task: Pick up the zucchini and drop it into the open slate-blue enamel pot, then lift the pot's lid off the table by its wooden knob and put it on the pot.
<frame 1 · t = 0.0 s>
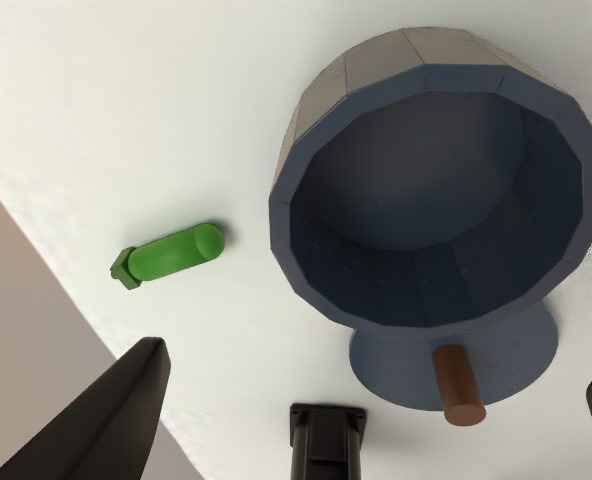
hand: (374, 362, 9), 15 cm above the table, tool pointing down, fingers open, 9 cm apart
pot lid: (447, 349, 29), point 1 cm above the table
pot: (405, 161, 22), on the table
zucchini: (180, 242, 26), on the table
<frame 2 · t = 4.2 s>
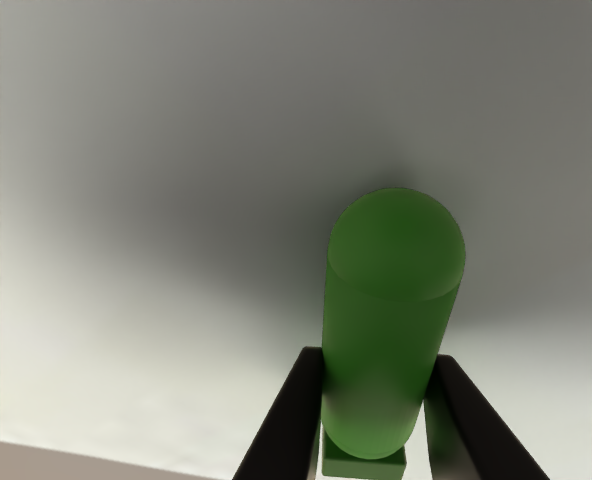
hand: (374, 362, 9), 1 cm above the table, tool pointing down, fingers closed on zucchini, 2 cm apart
zucchini: (373, 302, 9), on the table, touching gripper
when the fingers open (7 cm above the table, at t = 8.9 s): zucchini drops 3 cm and tips over, resting on pot.
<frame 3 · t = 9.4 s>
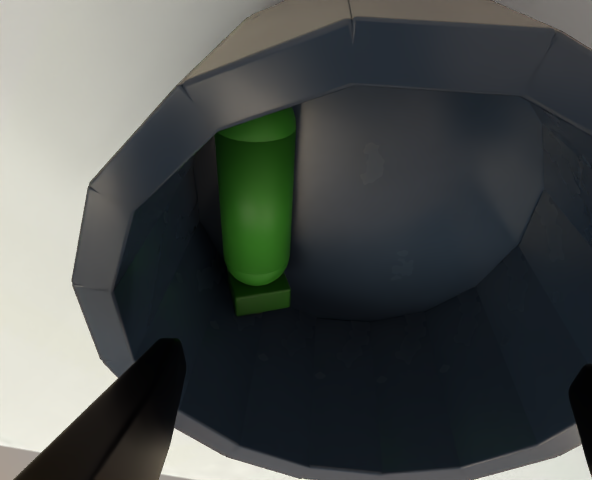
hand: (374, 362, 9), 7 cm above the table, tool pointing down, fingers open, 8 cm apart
pot: (360, 197, 14), on the table
zucchini: (264, 215, 12), point 3 cm above the table, tilted 160°, touching pot
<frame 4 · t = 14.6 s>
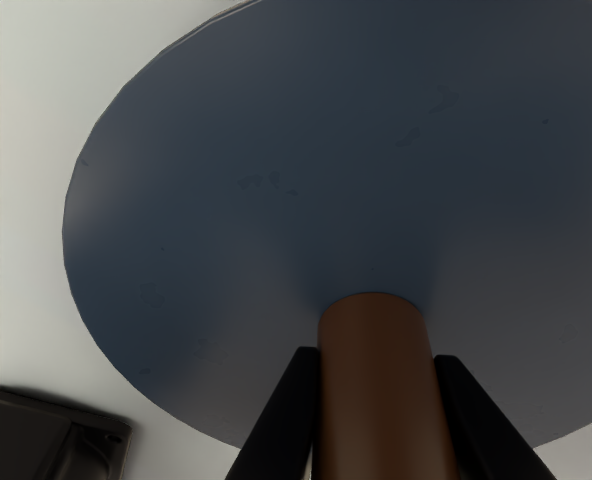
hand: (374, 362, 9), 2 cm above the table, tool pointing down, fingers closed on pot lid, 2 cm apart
pot lid: (369, 313, 10), point 1 cm above the table, touching gripper
when the fingers open (8 cm above the table, at t = 19.9 s): pot lid stays where it is, resting on pot.
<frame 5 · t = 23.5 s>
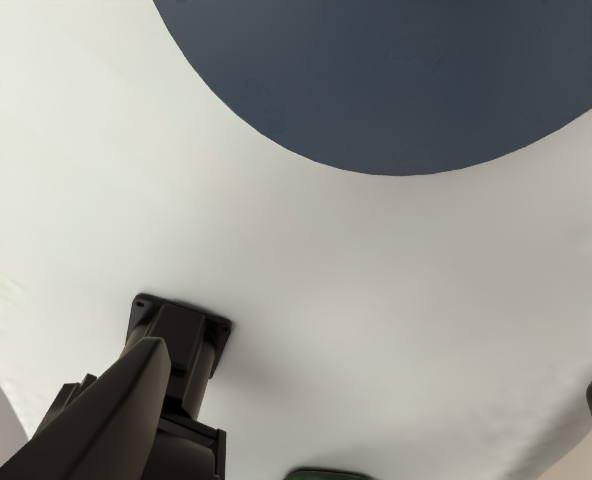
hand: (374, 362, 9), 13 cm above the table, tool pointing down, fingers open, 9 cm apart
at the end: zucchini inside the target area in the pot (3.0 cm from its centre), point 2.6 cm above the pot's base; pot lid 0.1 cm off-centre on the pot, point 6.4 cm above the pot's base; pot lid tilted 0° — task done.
